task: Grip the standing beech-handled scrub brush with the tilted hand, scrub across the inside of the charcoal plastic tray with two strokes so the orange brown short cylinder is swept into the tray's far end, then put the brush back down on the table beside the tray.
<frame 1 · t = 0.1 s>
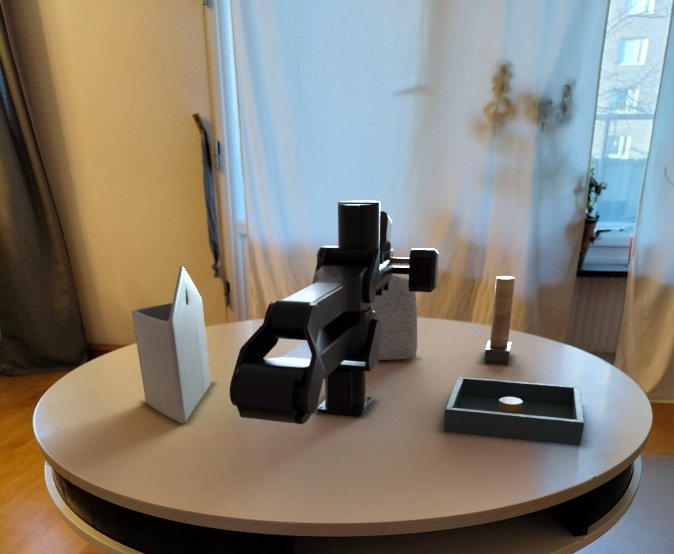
hand: (388, 261, 102), 17 cm above the table, tool horizontal, fingers open, 9 cm apart
orange brown short cylinder: (509, 414, 82), resting on tray
brush: (497, 359, 107), on the table
tray: (512, 418, 83), on the table
planter: (172, 403, 90), on the table
decorative stone: (385, 359, 109), on the table
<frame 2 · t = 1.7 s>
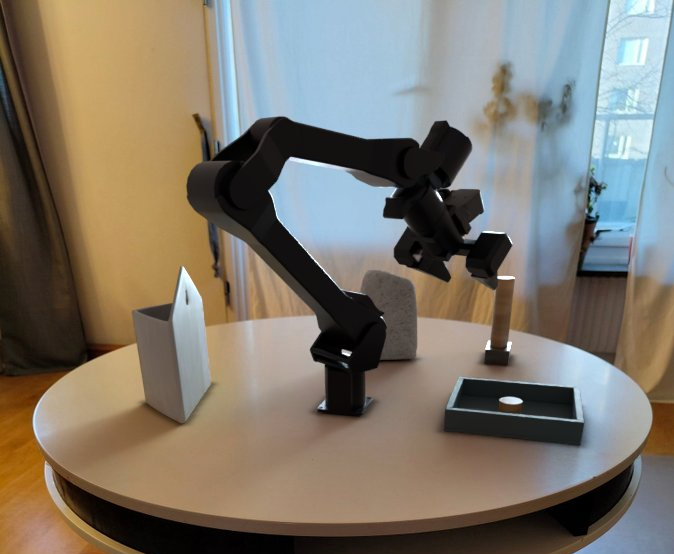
hand: (471, 283, 97), 14 cm above the table, tool tilted 45°, fingers open, 9 cm apart
nothing on the table moved.
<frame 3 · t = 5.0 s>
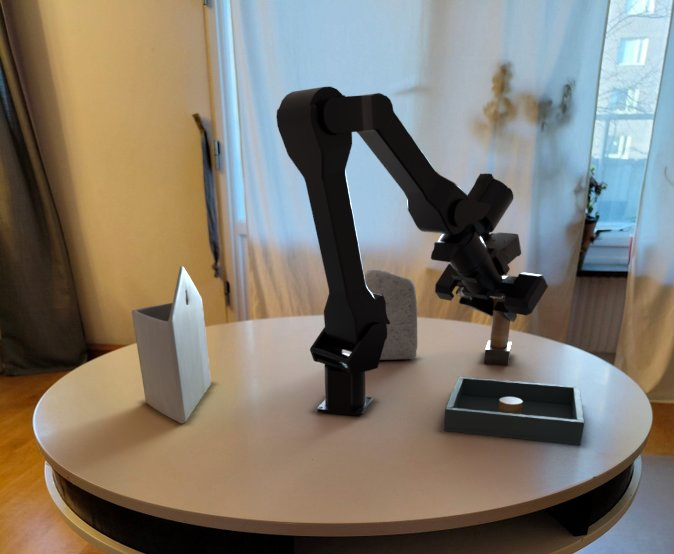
hand: (506, 318, 105), 7 cm above the table, tool tilted 45°, fingers closed on brush, 3 cm apart
brush: (497, 359, 107), on the table, touching gripper
everything else where it was.
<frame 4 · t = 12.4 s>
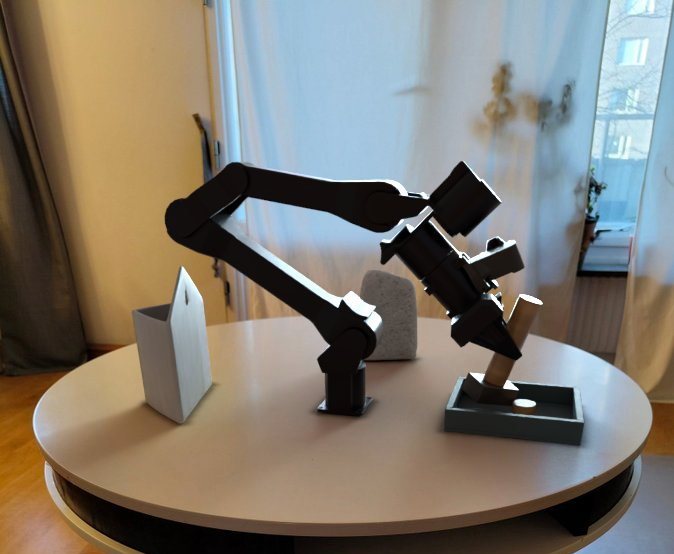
hand: (518, 354, 79), 9 cm above the table, tool tilted 45°, fingers closed on brush, 3 cm apart
orange brown short cylinder: (522, 417, 82), point 1 cm above the table
brush: (486, 397, 83), point 3 cm above the table, tilted 18°, touching gripper
everything else where it was.
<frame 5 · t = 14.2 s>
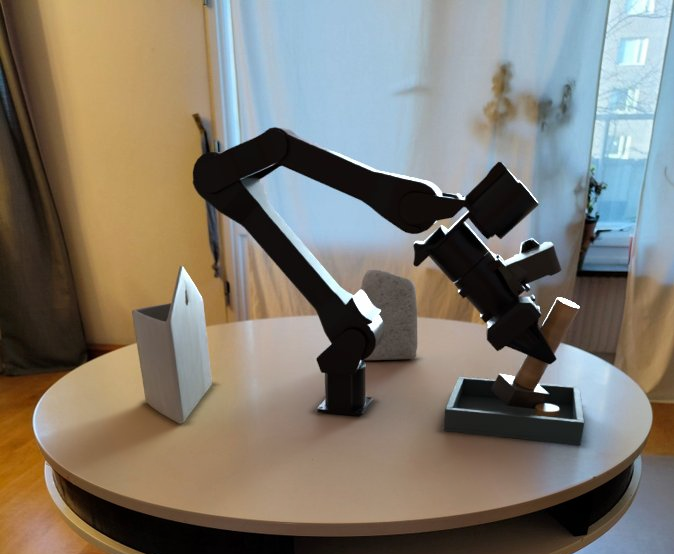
hand: (551, 358, 78), 9 cm above the table, tool tilted 45°, fingers closed on brush, 3 cm apart
orange brown short cylinder: (545, 421, 80), resting on tray
brush: (515, 400, 82), point 3 cm above the table, tilted 20°, touching gripper
everything else where it was.
when the fingers open (7 cm above the table, at t = 24.7 s): brush stays where it is, on the table.
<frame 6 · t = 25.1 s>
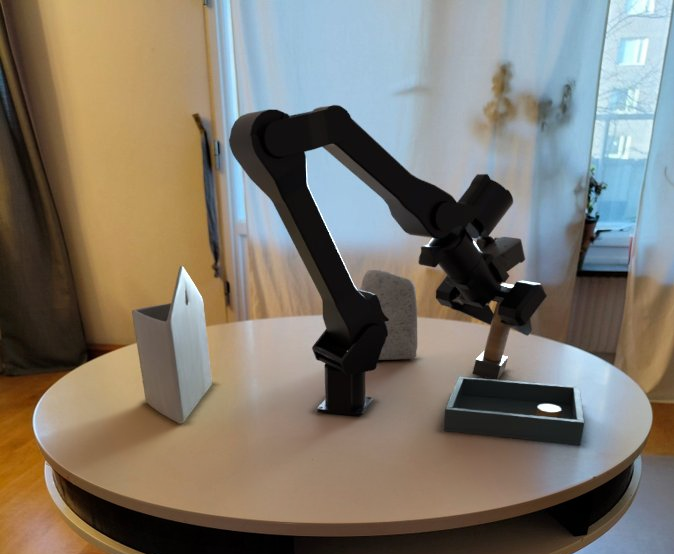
hand: (511, 328, 98), 7 cm above the table, tool tilted 45°, fingers open, 7 cm apart
brush: (488, 372, 99), on the table, tilted 9°, touching gripper
everything else where it was.
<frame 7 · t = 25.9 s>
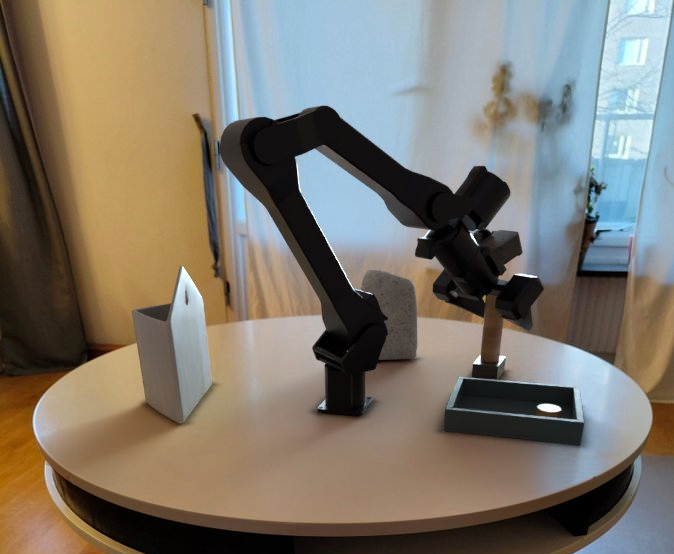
hand: (508, 322, 97), 8 cm above the table, tool tilted 45°, fingers open, 9 cm apart
brush: (488, 374, 99), on the table
everything else where it was.
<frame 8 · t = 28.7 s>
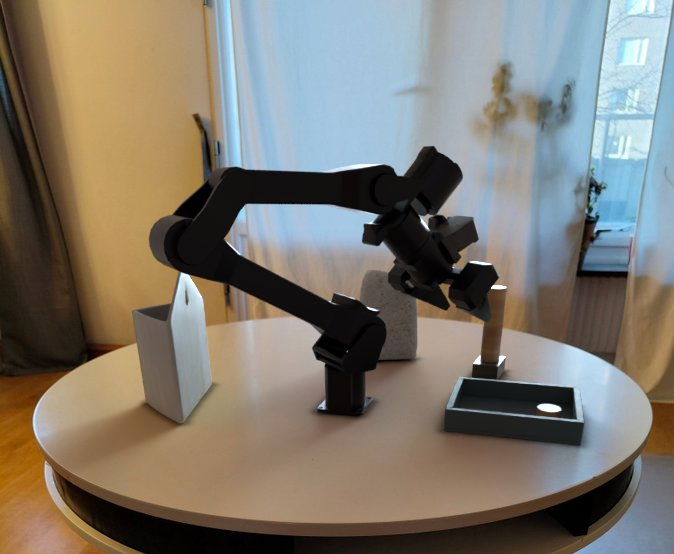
hand: (467, 313, 93), 11 cm above the table, tool tilted 45°, fingers open, 9 cm apart
nothing on the table moved.
at the end: orange brown short cylinder inside the target area in the tray (1.7 cm from its centre), point 0.5 cm above the tray's base; brush inside the target area (2.7 cm from its centre), on the table; the gripper is holding nothing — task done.
